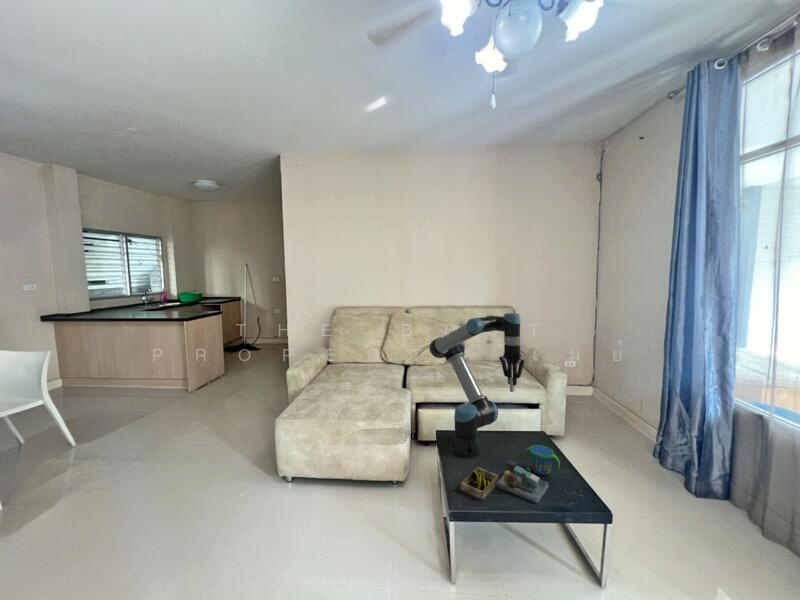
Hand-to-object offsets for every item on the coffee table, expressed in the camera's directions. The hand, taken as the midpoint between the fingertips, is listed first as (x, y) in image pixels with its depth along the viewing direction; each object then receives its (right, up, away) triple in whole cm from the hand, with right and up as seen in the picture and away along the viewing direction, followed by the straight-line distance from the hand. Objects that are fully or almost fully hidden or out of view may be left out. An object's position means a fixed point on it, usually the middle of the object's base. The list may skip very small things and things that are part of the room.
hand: (512, 391), depth 163 cm
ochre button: (-9, -33, -19) cm, 39 cm away
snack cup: (+10, -35, -10) cm, 38 cm away
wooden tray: (-21, -36, -20) cm, 46 cm away
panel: (-3, -36, -22) cm, 42 cm away
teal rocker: (-1, -31, -21) cm, 38 cm away
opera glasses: (-21, -36, -21) cm, 46 cm away
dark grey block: (-5, -33, -14) cm, 36 cm away
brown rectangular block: (-8, -33, -23) cm, 41 cm away
